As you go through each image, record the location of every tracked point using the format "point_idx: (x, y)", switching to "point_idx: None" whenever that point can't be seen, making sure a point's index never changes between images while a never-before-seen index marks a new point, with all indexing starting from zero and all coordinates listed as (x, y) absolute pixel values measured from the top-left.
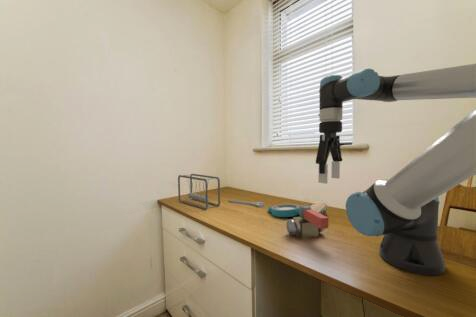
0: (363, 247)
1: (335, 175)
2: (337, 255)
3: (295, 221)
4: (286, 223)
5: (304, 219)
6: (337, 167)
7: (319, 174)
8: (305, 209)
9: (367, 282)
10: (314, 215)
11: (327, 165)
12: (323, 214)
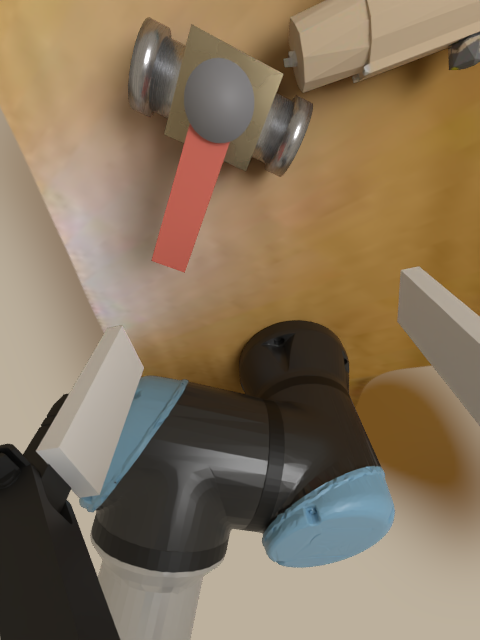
0: (282, 289)
1: (409, 312)
2: None
3: (158, 87)
4: (148, 18)
5: None
6: (451, 374)
7: (87, 374)
8: (192, 128)
9: (141, 348)
10: (164, 216)
11: (99, 483)
12: (449, 58)
